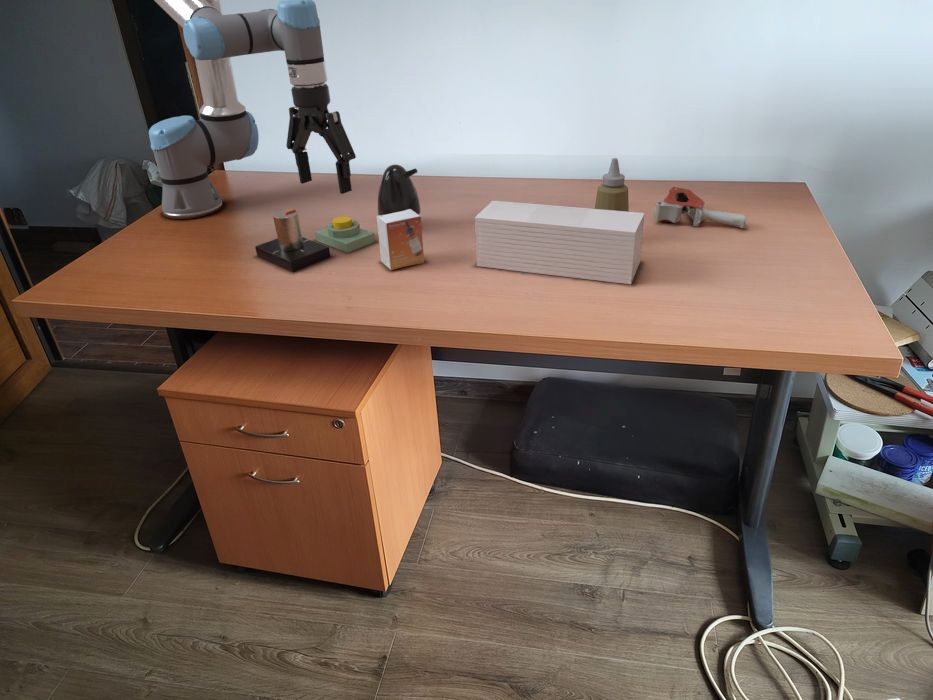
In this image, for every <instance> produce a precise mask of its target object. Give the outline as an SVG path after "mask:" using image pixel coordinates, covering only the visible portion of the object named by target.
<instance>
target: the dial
mask: <svg viewBox="0 0 933 700" xmlns="http://www.w3.org/2000/svg"><path fill="white" fill-rule="evenodd" d="M272 216H273V217H272V218H273V222H274V228H275V232H276V237H277V238H276V239H278V243H279V247H280V249H281V250H283V251H293V250H297V249H300V248H302V247H303V239H302V237H303V233H302V230H301V224H300V217H299V213H298V211H297V210H296V209H294V208H293V209H284V210H280V211H276V212H274V213H273V214H272Z"/></svg>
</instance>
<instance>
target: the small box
mask: <svg viewBox="0 0 933 700" xmlns="http://www.w3.org/2000/svg"><path fill="white" fill-rule="evenodd" d="M376 226H377V234H378V235H377V236H378V243H379V252H380V261H381V263H382V264H383V265H384V266H386V267H387V268H388V269H389V270H390V271H394V270H397V269H401V268H404V267H405V268H406V267H409V266H415V265H419V264H424V263H425V254H424V253H425V252H424V240H423V239H424V238H423V227H422V217H421V215H420V214H419V215H418V214H417V213H415V212H414V211H413V210H411V209H408V210H405V211H400V212H396V213H391V214H386V215H379V216H378V215H376Z"/></svg>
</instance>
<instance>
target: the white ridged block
mask: <svg viewBox="0 0 933 700" xmlns="http://www.w3.org/2000/svg"><path fill="white" fill-rule="evenodd" d="M474 222H475V223H474V230H475V232H474V234H475V248H476V250H475V252H476V254H475V255H476V256H475V257H476V258H475V259H476V267H480V268H489V269H496V270H497V269H498V270H506V271H507V270H508V271H513V272H514V271H515V272H523V273H530V274H531V273H532V274H540V275H547V276H557V277H565V278H574V279H582V280H583V279H584V280H591V281H598V282H599V281H600V282H609V283H616V284H624V285H632V283H633V280H634V278H635V276H636V273H637V271H638V268H639V266H640V263H641V256H642V255H641V254H642V245H643V234H644V223H645V212H639V211H638V212H637V211H629V212H626V211H614V210H601V209H595V208H589V207H575V206H562V205H551V204H541V203H540V204H539V203H529V202H528V203H527V202H518V201H517V202H516V201H515V202H514V201H505V200H491V201H490V202H489V203H487V205H486V206H485V207H484V208H483V209H482V210H481V211H480V212H479V213H478V214H477V215H476V216H475V217H474Z"/></svg>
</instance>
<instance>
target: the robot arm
mask: <svg viewBox="0 0 933 700" xmlns="http://www.w3.org/2000/svg"><path fill="white" fill-rule="evenodd" d="M153 1H154V2H155V3H156V4H157V5H158V6H159V7H160V8H161V9H162V10H163V11H165V13H166V14H168V15H169V17H170V18H172V20H173V21H175V23H177V24H178V25H179V26H180V28H182V31H183V32H182V33H183V39H184V42H185V46H186V48H187V49H188V51H189V54H190V55H191V56H192V57H193V58H194V62H195V68H196V72H197V77H198V81H199V86H200V91H201V96H202V102H203V104H202V105H201V107H200V108H199V110H198V111H199V117H200V119H197V120H196V119H195V118H194V117H193V116H192V115H180V116H173V117H170V118H166V119H162V120H160V121H158V122H157V123H154V124H153V125H152V126H151V127H150V128H149V130H148V137H149V142H150V148H151V150H152V153H153V156H154V159H155V163H156V167H157V170H158V172H159V177H160V180H161V184H162V193H161V194H162V195H161V210H162V215H163V216H164V217H165V218H167V219H172V220H189V219H197V218H201V217H205V216H208V215H211V214H214V213H216V212H218V211H220V210H221V209H222V208H223V206H224V203H223V200H222V198H221V196H220V194H219V192H218V191H217V189H216V186H214V184H213V183H212V181H211V179H210V177H209V174H208V169H207V167H210V166H216V165H219V164H223V163H224V164H225V163H228V162H233V161H240V160H243V159H246V158H248V157H251V156H253V155H254V154H255V153H256V151H257V150H258V147H259V146H258V145H259V140H260V139H259V138H260V135H259V128H258V124H257V123H256V119H255V117H254V116H253V114H252V113H251V112H250V111H247V109H246V106H245V105H244V104H243V103H241V102H240V101H239V99H238V92H237V87H236V86H237V85H236V81H235V76H234V75H235V74H234V69H233V63H232V58H234V57H241V56H247V55H255V54H256V55H257V54H264V53H271V52H278V51H279V52H280V51H281V52H284V56H285V61H286V62H285V63H286V65H287V70H288V77H289V83H290V84H291V86H292V87H291V89H290V91H291V96H292V102H293V105H294V106H291V107H288V114H289V115H288V116H289V122H288V130H287V138H286V148H287V150H291V151H292V153H293V154H294V159H295V165H296V167H297V173H298V177H299V182H300V184H302V185H304V184H306V183H310V182H312V181H313V177H312V171H311V166H310V162H309V161H310V160H309V153H308V151H307V150H308V149H307V148H306V146H307V145H308V141H309V139H310V136H311V134H312V132H313V133H315V134H318V135H319V136H320V137H322V138H323V140H324V142H325V143H326V145H327V146H328V147H329V149H330V151H331V152H332V154H333V156H334V157H335V159H336V162H335V169H336V170H335V171H336V176H337V182H338V189H339V194H341V195H343V194H346V193H349V192H352V191H353V189H352V182H351V174H352V173H351V172H352V171H351V166H350V165H351V164H350V161H352V160H355V159H356V157H357V156H356V153H355V150H354V148H353V146H352V143H351V142H350V139H349V137H348V135H347V132H346V130H345V128H344V125H343V123H342V118H341V115H340V112H339V111H338V110H336V111H332V112H330V111H329V109H328V106H329V104H330V103H331V95H330V89H329V85H328V84H327V82H328V81H329V79H328V73H327V67H326V61H325V54H324V47H323V39H322V30H321V22H320V21H321V20H320V17H319V15H318V9H317V4H316V2H315V1H314V0H280V1H278V2H277V9H274V8H267V9H260V10H258V11H249V12H242V13H230V14H224V13H223V7H222V1H221V0H153Z"/></svg>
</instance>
